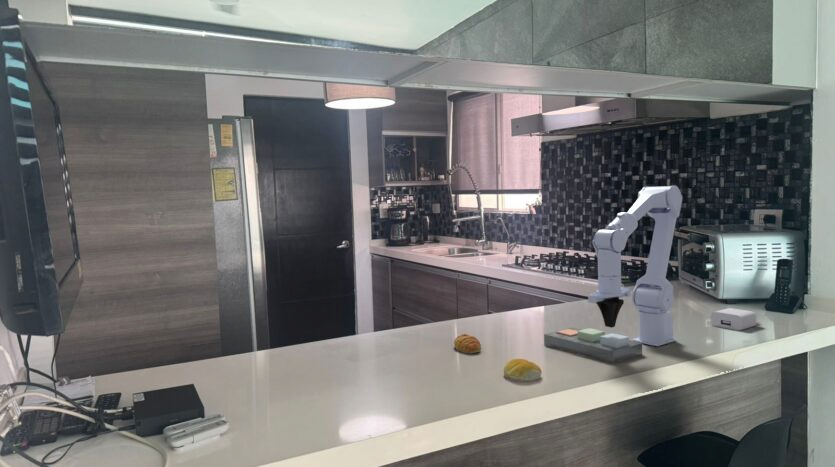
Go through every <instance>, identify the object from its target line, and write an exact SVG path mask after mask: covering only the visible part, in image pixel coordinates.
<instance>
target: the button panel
mask: <svg viewBox="0 0 835 467" xmlns="http://www.w3.org/2000/svg"><path fill="white" fill-rule="evenodd" d="M566 329H571V330H576V331H580V330H582V328H577V327H569V328H565V329H561V330H556V331H552V332H548V333H544V334H543V338H544V339H543V342H544V346H547V347H551V348H552V347H553V348H555V349H559V350H562V351H567V352H570V353H574V354H578V355H581V356H585V357H589V358H592V359H596V360H600V361H604V362H607V363H611V364H615V363H618V362H623V361H626V360H628V359H632V358H636V357H639V356H641V355H643V343H640V342H636V341H632V340H630V339H629V345H627V346H623V347H620V348H614V347H610V346H606V345H602V344H600V341H596V342H589V341H585V340H581V339H578V335H576V336H572V337H569V336H565V335H561V334H557V332H558V331H562V330H566Z"/></svg>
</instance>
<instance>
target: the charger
mask: <svg viewBox="0 0 835 467" xmlns="http://www.w3.org/2000/svg"><path fill="white" fill-rule="evenodd" d="M757 318H758V316H757V313H756V312H755V311H751V310H747V309H738V308H732V307H730V308H729V307H728V308H724V309H721V310H716V311H712V312H711V313H710V325H711V326H713V327H716V328H717V327H719V328H722V329H723V328H724V329H728V330H729V329H730V330H734V331H742V330H745V329H751V328H754V327H755V326H757Z"/></svg>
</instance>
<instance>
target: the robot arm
mask: <svg viewBox="0 0 835 467" xmlns="http://www.w3.org/2000/svg"><path fill="white" fill-rule="evenodd" d="M682 203H683V194H682V193H681V190H680V189H679V187H678V186H677V185H667V186H665V185H663V186H662V185H661V186H643V187H642V189H641V190H640V191H638V194H637V199H636V201H635V202H634V203H633V205H632V206H631V207H630V208H629V209H628V211H627V212H626V211H625V212H618V213H617V214H616V217H615V218H614V219H613V220H612V221H610V223H609V224H608V225H607V226H606V227H605V228H603V229H599V230H598V231H596V232H595V234H594V236H593V240H592V246H593V249H594V250H595V257H596V258H597V276H598V277H597V290H594V291H595V292H593V293H591V294H588V296H587V300H588V303H591V304H596V306H597V307H598V309H599V310H600V313H601V316H602V318H603V319H602V320H603V322H604V326H605V327H606V328H615V327H616V324H617V318H618V316H619V313H620V310H621V308H622V307H623V305H624V303H625V302H624V299H621V298H624V297H631V301H632V303H633V306H635V309H636V311H638V337H635V338H632V339H631V341H635V342H639V343H642V344H645V345H650V346H653V347H654V346H655V347H659V346H662V345H666V344H670V343H672V342H675V341H677V339H676V338H674V317H673V314H672V313H671V311H670V310H671V309H672V307H673V304H674V300H675V297H674V288H675V287H674V285H673V284H672V283H671V282H670V281H669V280H668V279H667V278H666V277H667V273H668V267H669V261H670V254H671V250H672V245H673V239H674V233H675V230H676V229H675V228H676V222H677V218H679V217H680V214H681V213H680V212H681V209H682ZM645 215H648V217H650V218H653V220H654V221H655V222H654V228H653V234H652V240H651V245H650V249H649V250H650V251H649V254H648V259H647V266H646V271H645V274H644V275H643V276H641V277H640V278H638V279H637V280H636V283H635V286H634V288H633V289H632V292H631V289H630V288H625V287H624V288H622V251H624V250H625V248H626V245H627V241H628V240H629V237H630V235H631V234H633V232H634V231H635V230H636V229H637V228H638V225H639V223H638V221H639V220H640V219H641V218H643V217H644V216H645Z"/></svg>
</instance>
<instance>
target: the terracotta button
mask: <svg viewBox="0 0 835 467" xmlns="http://www.w3.org/2000/svg"><path fill="white" fill-rule="evenodd" d="M565 329H566V330H564V329H561V330H562V331H560V330H557V331H558V332H557V334H561V335H565V336H569V337H572V336H576V335H578V331H576V330H571V329H568V328H565Z"/></svg>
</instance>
